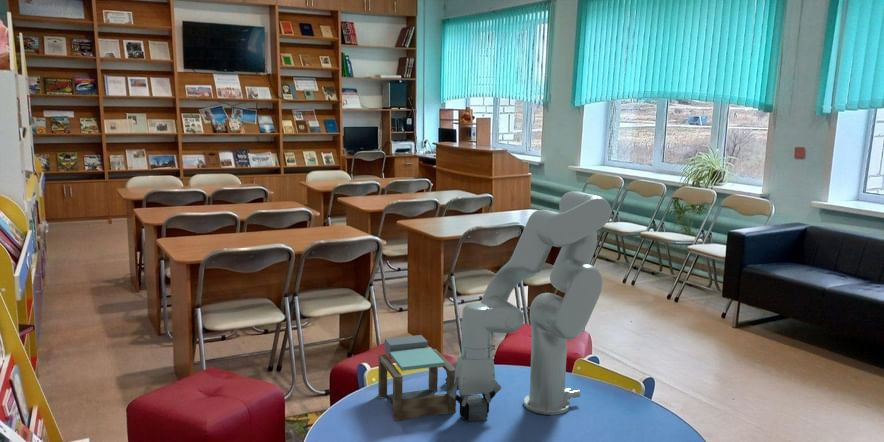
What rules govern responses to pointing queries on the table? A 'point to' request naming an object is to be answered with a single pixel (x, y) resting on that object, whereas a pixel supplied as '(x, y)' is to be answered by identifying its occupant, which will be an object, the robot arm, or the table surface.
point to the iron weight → (476, 409)
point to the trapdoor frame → (416, 392)
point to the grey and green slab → (412, 353)
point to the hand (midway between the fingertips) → (474, 416)
